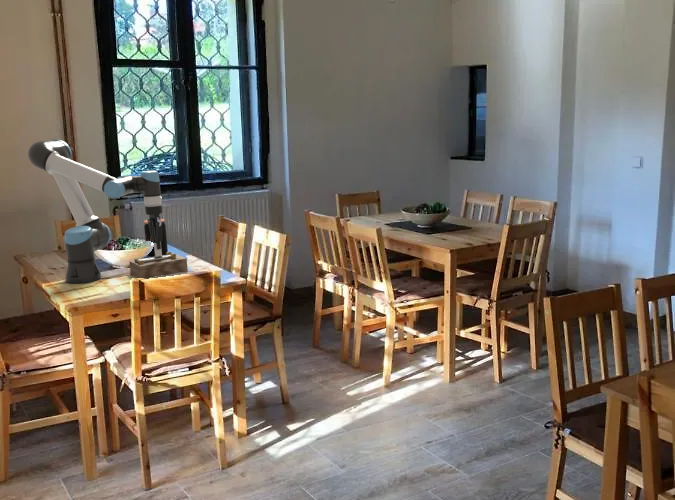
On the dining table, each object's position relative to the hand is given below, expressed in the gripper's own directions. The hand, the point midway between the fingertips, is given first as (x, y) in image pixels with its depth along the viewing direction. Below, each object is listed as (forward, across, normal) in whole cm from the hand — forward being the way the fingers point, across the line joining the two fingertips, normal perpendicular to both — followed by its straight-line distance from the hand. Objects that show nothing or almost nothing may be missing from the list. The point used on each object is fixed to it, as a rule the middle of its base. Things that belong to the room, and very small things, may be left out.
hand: (158, 255), depth 327 cm
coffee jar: (+8, +37, -14) cm, 40 cm away
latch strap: (+2, 0, +2) cm, 2 cm away
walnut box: (+8, 0, 0) cm, 8 cm away
